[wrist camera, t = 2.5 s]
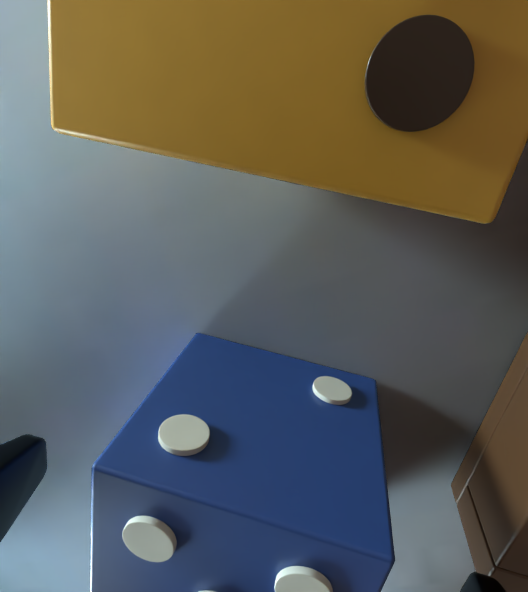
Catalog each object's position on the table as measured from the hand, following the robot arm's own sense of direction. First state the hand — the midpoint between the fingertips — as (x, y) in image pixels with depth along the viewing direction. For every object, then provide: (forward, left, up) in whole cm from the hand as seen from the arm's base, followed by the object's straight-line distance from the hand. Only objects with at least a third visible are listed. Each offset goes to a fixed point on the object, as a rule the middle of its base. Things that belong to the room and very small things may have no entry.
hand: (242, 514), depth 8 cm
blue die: (0, 0, -3) cm, 3 cm away
